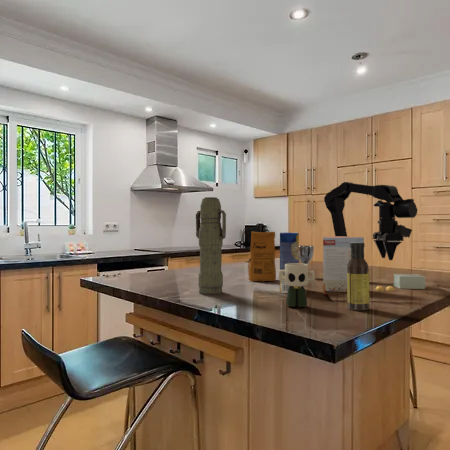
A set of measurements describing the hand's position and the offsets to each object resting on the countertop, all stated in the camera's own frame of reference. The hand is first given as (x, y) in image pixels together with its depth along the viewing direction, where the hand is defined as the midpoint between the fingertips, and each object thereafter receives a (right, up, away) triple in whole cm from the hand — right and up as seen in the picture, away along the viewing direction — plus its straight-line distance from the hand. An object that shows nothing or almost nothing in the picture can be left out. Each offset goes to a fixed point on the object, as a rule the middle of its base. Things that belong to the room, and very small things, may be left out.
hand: (387, 259), depth 145 cm
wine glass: (-24, -12, +34) cm, 44 cm away
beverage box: (-37, -12, 0) cm, 39 cm away
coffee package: (-45, -12, +26) cm, 54 cm away
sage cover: (+8, -12, -1) cm, 14 cm away
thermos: (-67, -12, -5) cm, 68 cm away
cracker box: (-19, -12, -8) cm, 24 cm away
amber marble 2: (-2, -10, -8) cm, 13 cm away
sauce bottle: (-22, -12, -32) cm, 40 cm away
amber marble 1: (-6, -10, -7) cm, 14 cm away
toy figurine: (-40, -12, -28) cm, 50 cm away
